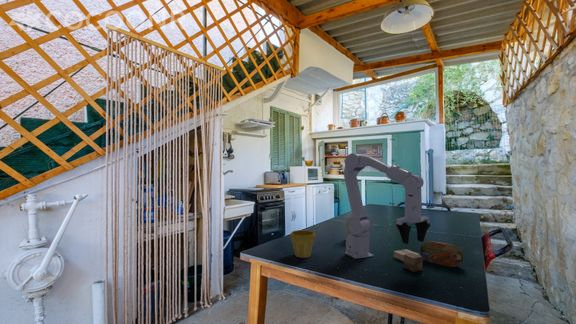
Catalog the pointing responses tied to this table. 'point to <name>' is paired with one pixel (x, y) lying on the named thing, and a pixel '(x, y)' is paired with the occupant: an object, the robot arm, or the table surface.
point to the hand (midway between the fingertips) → (413, 242)
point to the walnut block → (413, 262)
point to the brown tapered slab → (442, 253)
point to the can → (347, 227)
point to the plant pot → (302, 242)
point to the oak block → (402, 254)
